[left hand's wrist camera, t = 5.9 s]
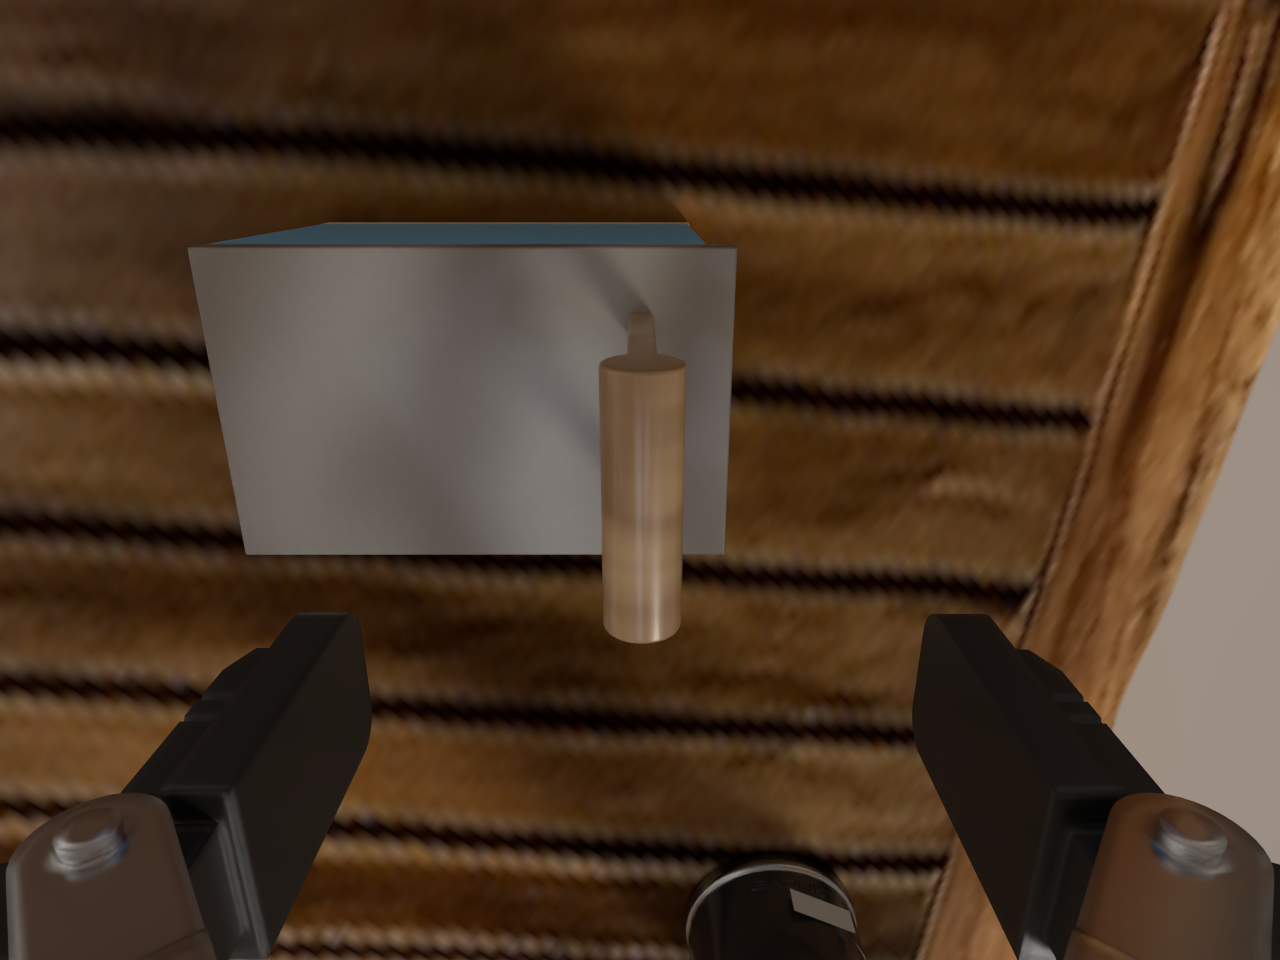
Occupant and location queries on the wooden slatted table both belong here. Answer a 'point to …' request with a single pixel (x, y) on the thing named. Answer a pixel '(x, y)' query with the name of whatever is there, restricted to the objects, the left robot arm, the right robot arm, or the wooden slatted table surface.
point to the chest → (481, 233)
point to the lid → (479, 403)
